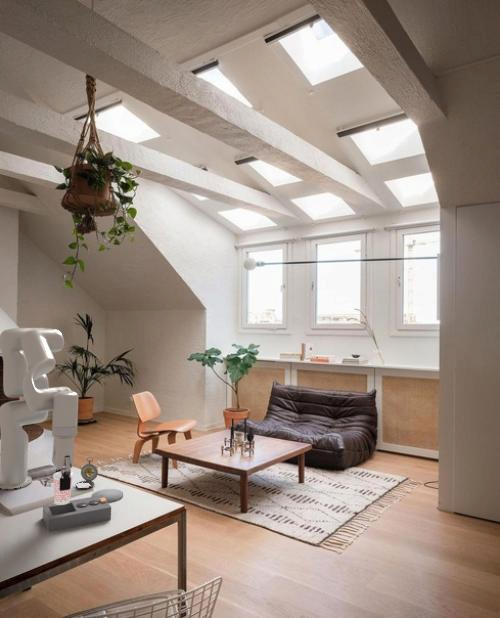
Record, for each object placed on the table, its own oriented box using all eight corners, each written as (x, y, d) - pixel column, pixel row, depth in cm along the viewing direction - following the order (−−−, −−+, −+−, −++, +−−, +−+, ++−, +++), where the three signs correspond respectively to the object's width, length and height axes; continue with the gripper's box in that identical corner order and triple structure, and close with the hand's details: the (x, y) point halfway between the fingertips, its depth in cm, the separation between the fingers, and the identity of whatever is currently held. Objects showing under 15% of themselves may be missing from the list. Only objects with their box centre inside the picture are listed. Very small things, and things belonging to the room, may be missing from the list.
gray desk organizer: (42, 517, 156) (43, 503, 156) (101, 506, 166) (102, 492, 166) (48, 532, 146) (49, 516, 146) (110, 519, 157) (111, 504, 156)
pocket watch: (77, 491, 178) (77, 464, 178) (74, 483, 186) (74, 457, 186) (99, 487, 182) (100, 461, 182) (95, 480, 190) (96, 455, 190)
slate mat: (88, 493, 176) (88, 492, 176) (118, 488, 182) (118, 487, 182) (95, 505, 167) (95, 503, 167) (127, 499, 173) (127, 497, 173)
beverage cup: (47, 503, 152) (49, 460, 152) (61, 496, 158) (62, 454, 158) (63, 507, 150) (64, 463, 150) (76, 500, 156) (78, 457, 156)
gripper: (47, 424, 159) (45, 478, 159) (57, 439, 144) (55, 498, 145) (71, 422, 163) (69, 475, 163) (83, 436, 148) (81, 493, 149)
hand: (62, 485), depth 154 cm, fingers closed on beverage cup, 6 cm apart
